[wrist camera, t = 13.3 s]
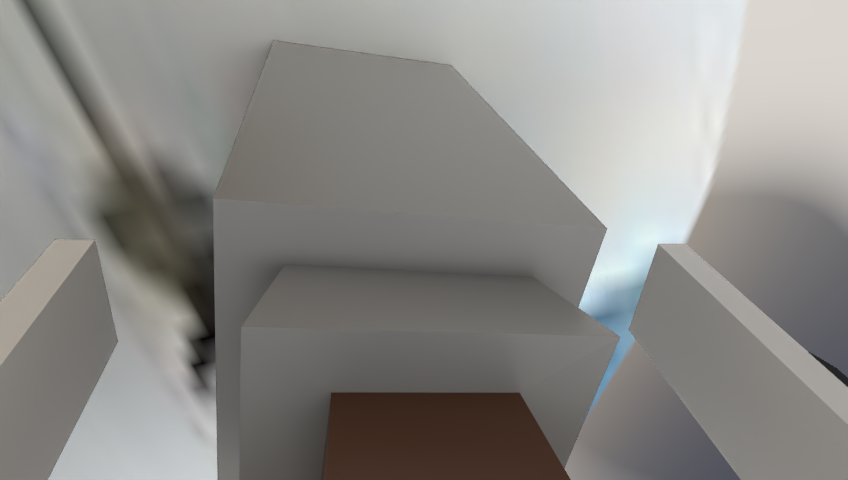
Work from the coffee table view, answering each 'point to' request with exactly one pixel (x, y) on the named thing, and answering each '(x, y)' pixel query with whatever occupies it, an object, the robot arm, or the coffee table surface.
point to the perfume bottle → (396, 282)
